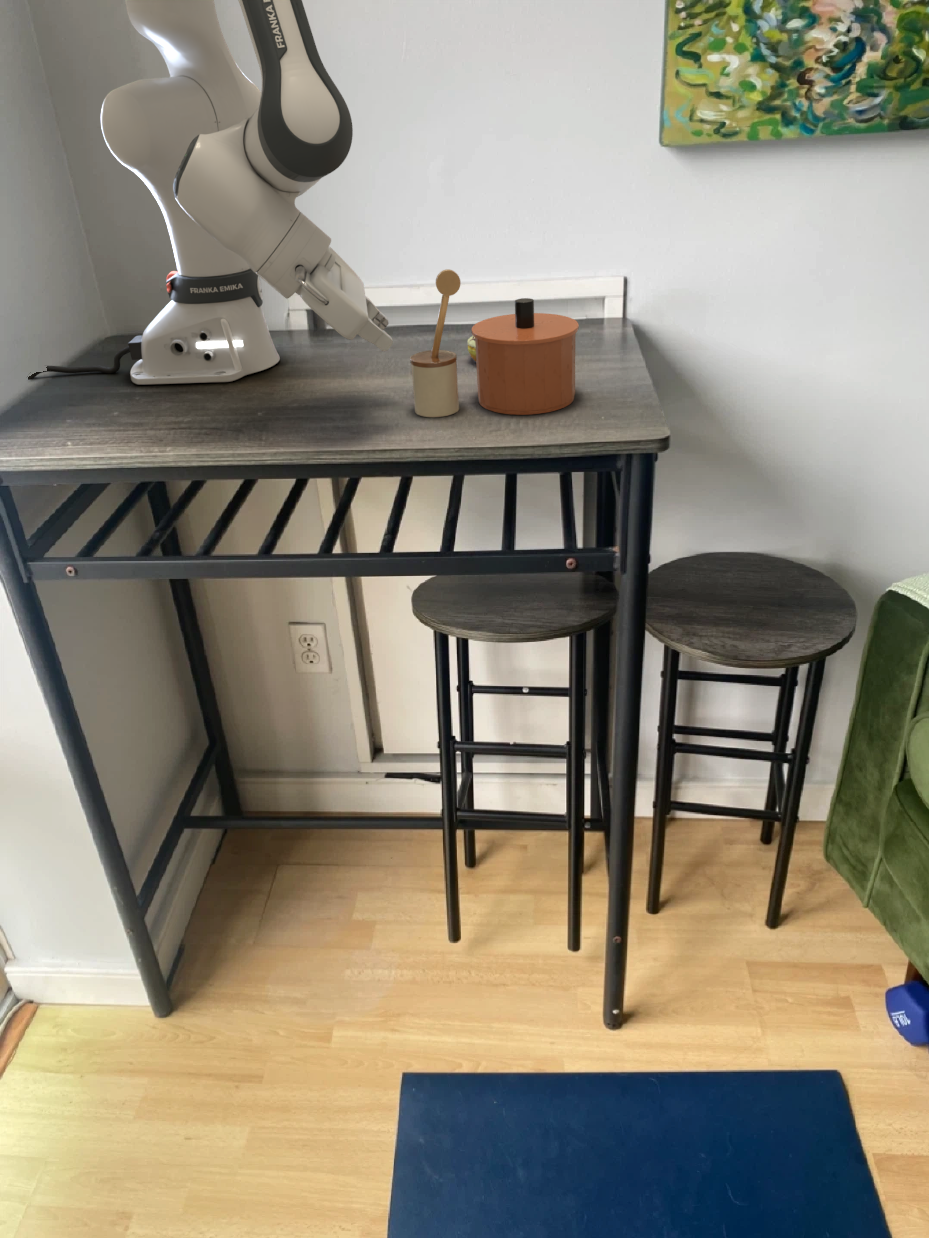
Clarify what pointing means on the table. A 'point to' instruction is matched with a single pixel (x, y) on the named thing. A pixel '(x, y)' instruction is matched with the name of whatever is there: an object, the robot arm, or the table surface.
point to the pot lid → (525, 326)
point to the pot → (526, 376)
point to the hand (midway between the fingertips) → (387, 336)
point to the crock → (437, 363)
